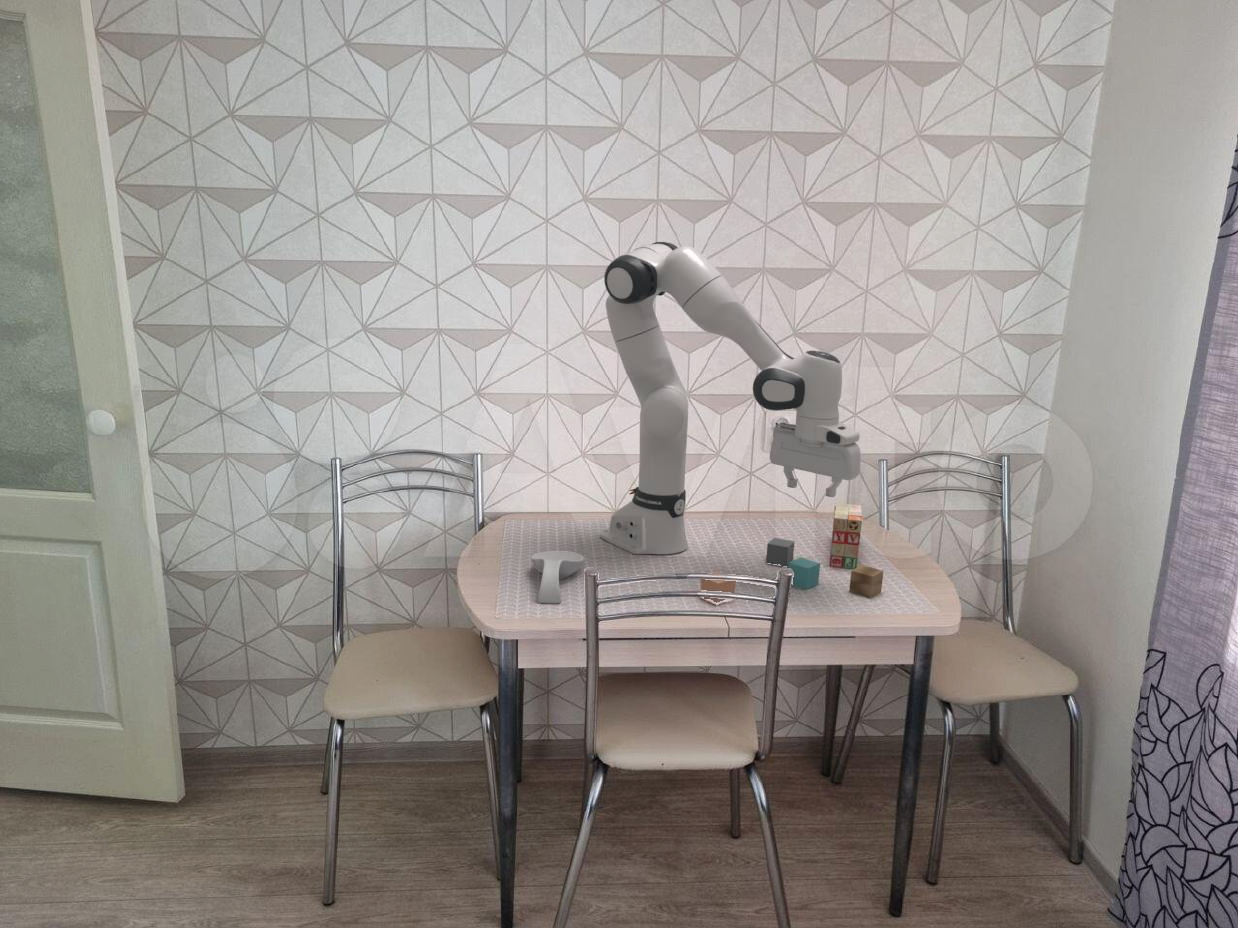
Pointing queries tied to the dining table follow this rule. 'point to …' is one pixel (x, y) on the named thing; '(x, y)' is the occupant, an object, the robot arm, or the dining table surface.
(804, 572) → the teal cube
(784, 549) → the charcoal cube
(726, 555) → the dining table surface
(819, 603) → the dining table surface
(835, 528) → the stack of blocks
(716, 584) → the terracotta cube
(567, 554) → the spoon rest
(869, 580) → the walnut cube
